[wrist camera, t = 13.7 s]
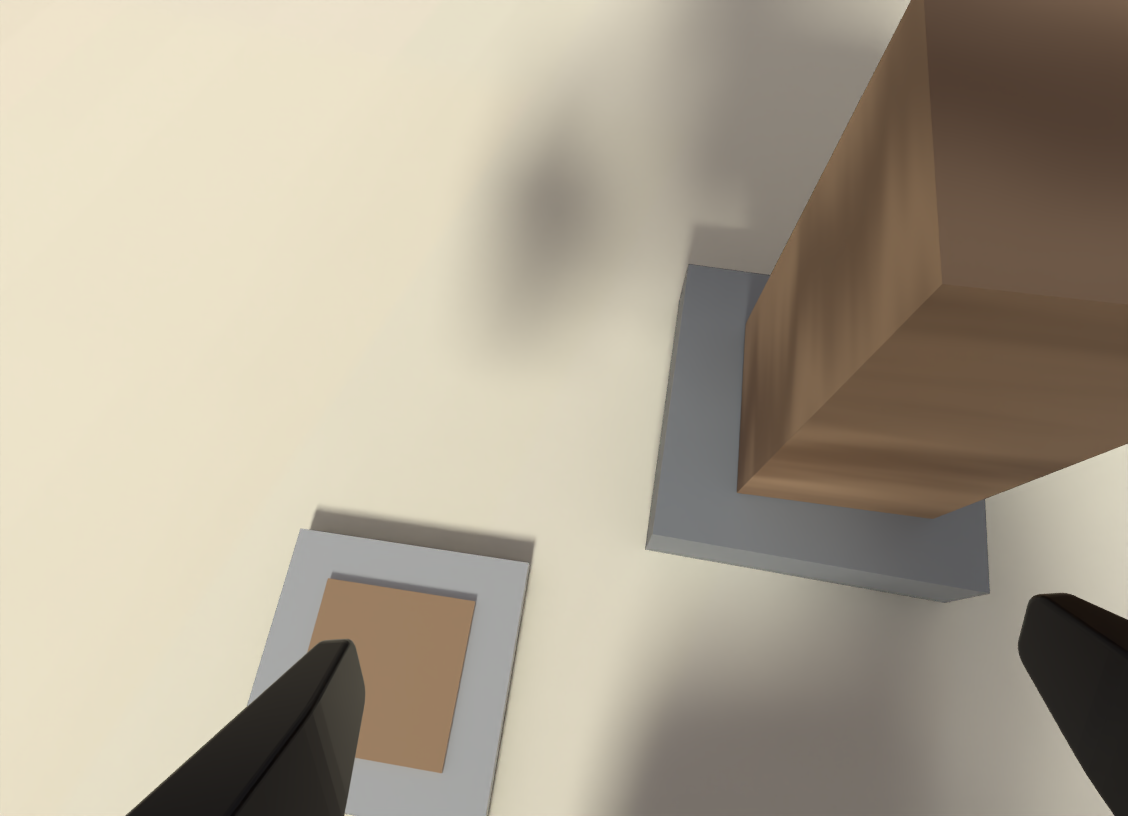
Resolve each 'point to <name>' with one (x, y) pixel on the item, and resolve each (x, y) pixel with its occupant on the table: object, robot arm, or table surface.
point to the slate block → (771, 525)
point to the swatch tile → (409, 663)
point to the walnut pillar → (954, 271)
